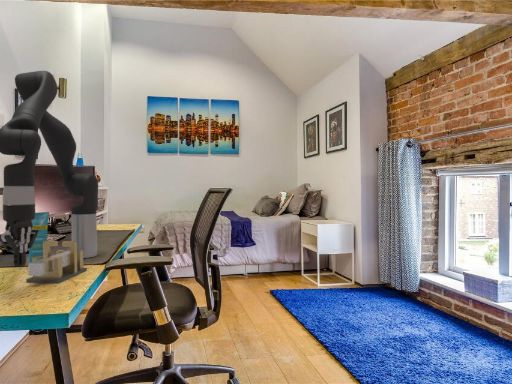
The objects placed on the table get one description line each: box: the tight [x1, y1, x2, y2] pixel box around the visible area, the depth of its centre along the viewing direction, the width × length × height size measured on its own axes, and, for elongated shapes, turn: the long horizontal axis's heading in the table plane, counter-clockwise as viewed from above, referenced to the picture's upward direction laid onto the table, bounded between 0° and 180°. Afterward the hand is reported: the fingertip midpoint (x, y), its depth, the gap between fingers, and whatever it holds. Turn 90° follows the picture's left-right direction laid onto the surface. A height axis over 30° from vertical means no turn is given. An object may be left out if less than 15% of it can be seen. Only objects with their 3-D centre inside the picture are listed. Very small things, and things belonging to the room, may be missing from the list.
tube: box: [28, 211, 50, 263], centre depth 135 cm, size 7×5×19 cm, turn 123°
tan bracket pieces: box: [32, 249, 84, 279], centre depth 121 cm, size 14×8×6 cm, turn 176°
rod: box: [27, 250, 70, 277], centre depth 119 cm, size 20×4×4 cm, turn 176°
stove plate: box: [25, 267, 88, 284], centre depth 120 cm, size 16×10×1 cm, turn 176°
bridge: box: [43, 240, 77, 273], centre depth 121 cm, size 2×10×10 cm, turn 85°
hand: (19, 266), depth 103 cm, fingers closed
